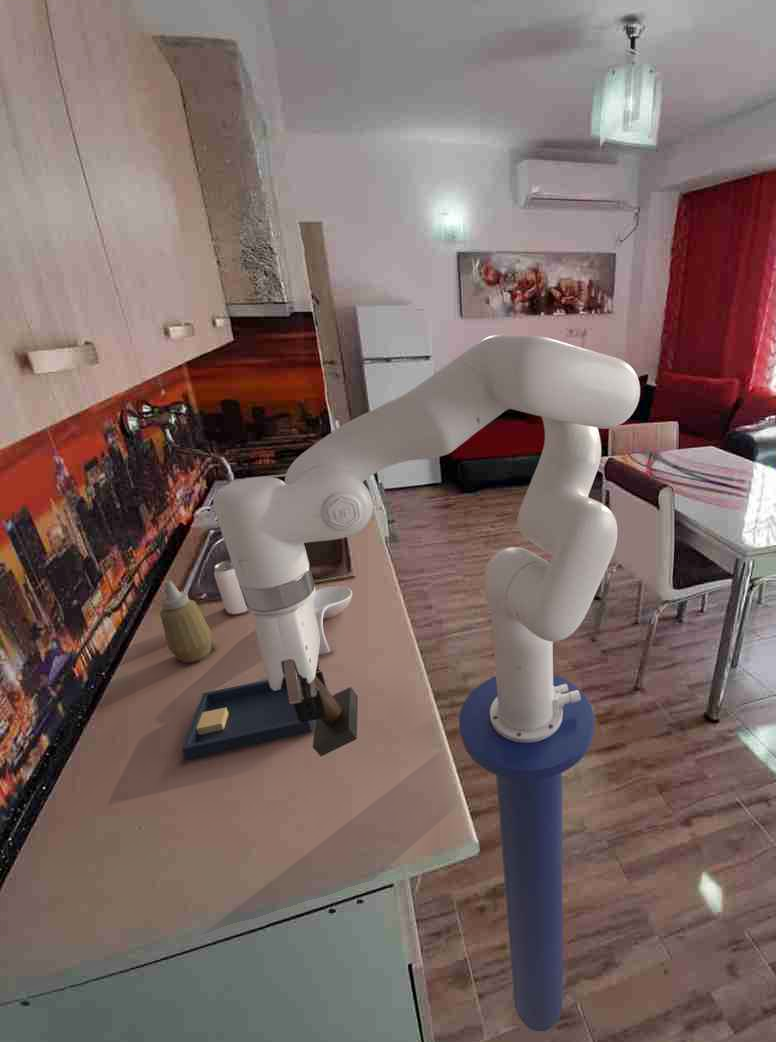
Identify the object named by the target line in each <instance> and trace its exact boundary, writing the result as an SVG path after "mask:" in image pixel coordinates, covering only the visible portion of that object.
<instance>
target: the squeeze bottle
mask: <svg viewBox="0 0 776 1042" xmlns="http://www.w3.org/2000/svg"><path fill="white" fill-rule="evenodd" d="M164 590H165V591H164V592H165V596H164V597H162V598H161V599H160V604H161V606H162V609H161V610H160V612H159V616H160V619H161V624H162V627H163V631H164V635H165V638H166V643H167V646H168V647H167V648H168V650H169V651H170V652H171V653H172V654H173V655H174V656H175V657H176V658H177V659H178V660H179V661H181V662H182V663H194V662H197V661H200V660H202V659H205V658H206V657H207V656H208V655H209V654H210V653H211V651H212V637H213V635H212V631H211V630H210V627H209V625H208V623H207V622H206V620H205V617H204V616H203V614H202V612H201V609H200V608H199V606H198V605H197V602H196V601H195V600H193V599H190V598H189V595H188V593H187V592H186V591H179V589H178V588H177V587H176V585H175V583H174V582H173V581H172V580H171V579H169V580H165V581H164Z"/></svg>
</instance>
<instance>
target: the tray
mask: <svg viewBox="0 0 776 1042" xmlns="http://www.w3.org/2000/svg"><path fill="white" fill-rule="evenodd" d="M221 708H227V711H228V713H229V714H228V717H227V721H226V724H225V727H224V730H220V731H215V732H211V733H206V734H202V735H199V734H198V732H197V730H196V728H197V725H198V723H199V720H200V717H201V714H202V712H207V711H212V710H216V709H221ZM313 722H314V720H311V721H307V722H300V721H299V719H298V716H297V713H296V710H295V707H294V704H290V702H289V696H288V690H287V683H286V677H285V676H284V677H283V681H282V686H281V689H280V690H277V691H274V690H272V689H271V687H270V685H269V681H268V679H265V680H260V681H255V682H251V683H246V684H245V683H244V684H241V685H236V686H230V687H226V688H221V689H217V690H212V691H208V692H207V691H206V692H203V693H202V695H201V698H200V701H199V703H198V706H197V709H196V711H195V714H194V717H193V719H192V721H191V725H190V727H189V730H188V732H187V734H186V737H185V740H184V743H183V744H182V748H181V749H182V753H183V755H184V758H185V760H186V761H189V760H194V759H197V758H203V757H207V756H211V755H215V754H220V753H225V752H229V751H233V750H238V749H241V748H247V747H251V746H255V745H259V744H260V745H261V744H264V743H267V742H268V743H269V742H272V741H277V740H281V739H285V738H290V737H294V736H295V737H296V736H300V735H303V734H308V733H312V731H313Z"/></svg>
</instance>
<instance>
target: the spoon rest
mask: <svg viewBox="0 0 776 1042" xmlns="http://www.w3.org/2000/svg"><path fill="white" fill-rule="evenodd" d="M352 598H353V591H352V590H351V588H349V587H346V586H342V585H335V586H334V585H333V586H328V587H323V588H319V589H316V591H315V594H314V596H313V597H312V598H311V602H312V605H313V609H314V612H315V616H316V619H317V623H318V628H319V633H320V647H319V655H325V654H329V653H330V652H331V649H330V647H329V644H328V642H327V638H326V636H325V632H324V631H325V630H324V619H330V618H335V617H336V616H338V615H339V614H341V612H343V611H344V610H345V609H346V608H347V607H348V606H349V604H350V602H351V600H352ZM319 655H318V656H319Z"/></svg>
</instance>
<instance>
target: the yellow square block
mask: <svg viewBox="0 0 776 1042" xmlns="http://www.w3.org/2000/svg"><path fill="white" fill-rule="evenodd" d="M228 714H229V713H228V711H227V708H221V709H216V710H212V711H207V712H202V714H201V717H200V720H199V723H198V725H197V728H196V730H197V732H198V734H199V735H202V734H206V733H211V732H215V731H220V730H224V727H225V724H226V721H227V717H228Z"/></svg>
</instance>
